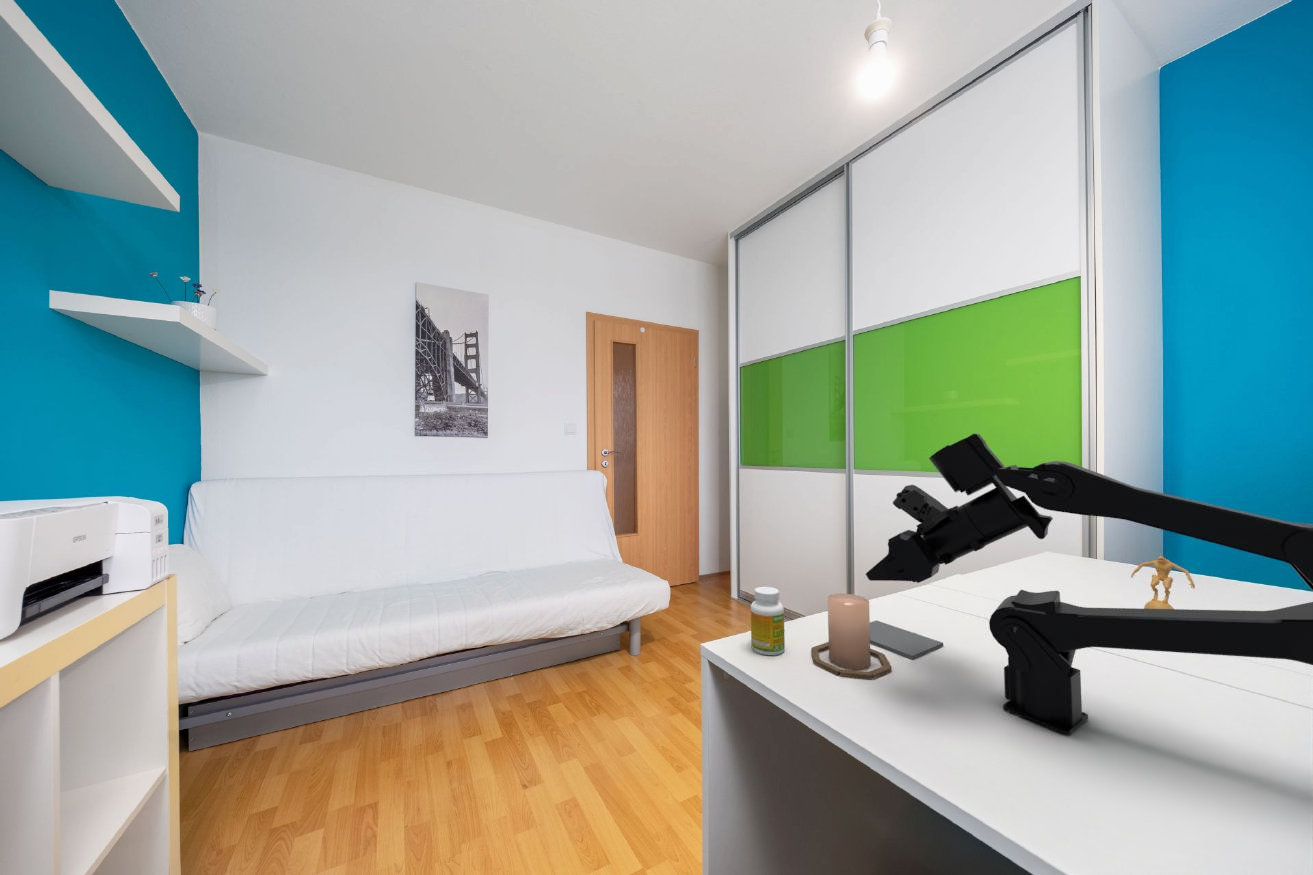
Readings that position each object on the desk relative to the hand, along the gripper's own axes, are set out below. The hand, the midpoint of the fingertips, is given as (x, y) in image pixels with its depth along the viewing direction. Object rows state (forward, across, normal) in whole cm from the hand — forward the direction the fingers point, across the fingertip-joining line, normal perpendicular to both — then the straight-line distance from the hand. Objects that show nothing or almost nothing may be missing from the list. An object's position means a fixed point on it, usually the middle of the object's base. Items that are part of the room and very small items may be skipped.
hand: (879, 570), depth 71 cm
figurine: (-18, -54, +30) cm, 64 cm away
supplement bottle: (+21, +7, +3) cm, 22 cm away
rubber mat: (+10, -11, +11) cm, 18 cm away
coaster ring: (+11, +2, +10) cm, 15 cm away
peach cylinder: (+11, +2, +10) cm, 15 cm away
